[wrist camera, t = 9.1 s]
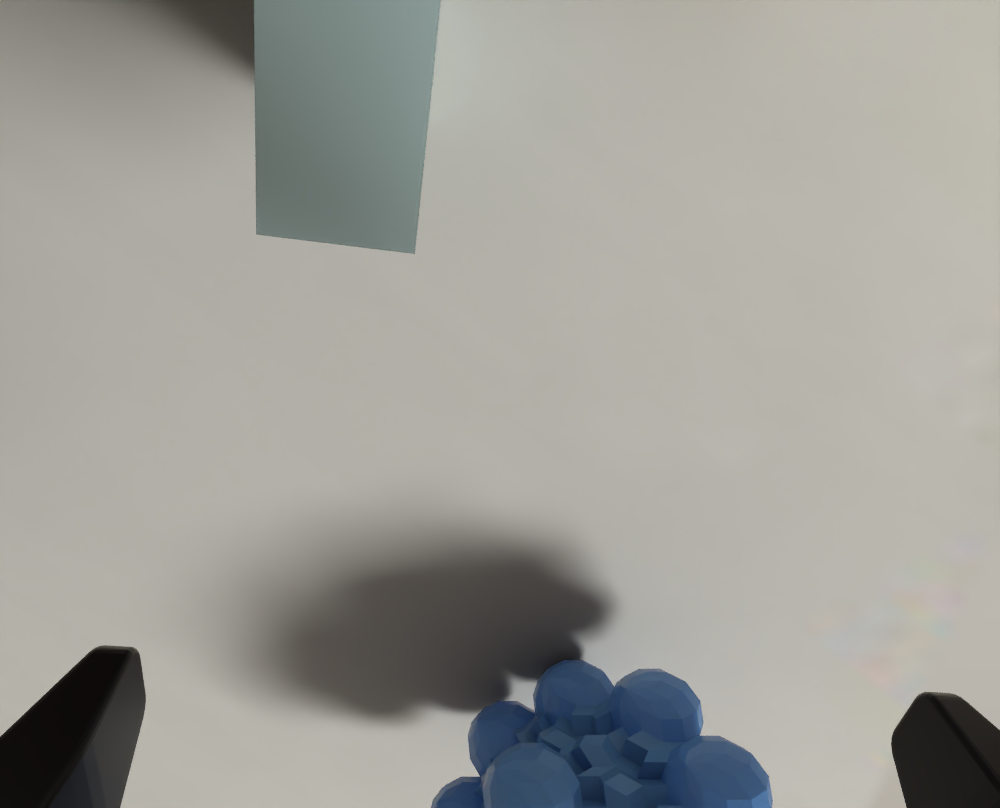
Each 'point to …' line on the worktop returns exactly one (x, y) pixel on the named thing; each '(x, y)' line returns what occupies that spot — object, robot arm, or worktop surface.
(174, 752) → the worktop surface
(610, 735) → the grapes
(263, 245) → the worktop surface
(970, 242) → the worktop surface
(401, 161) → the cross plate
